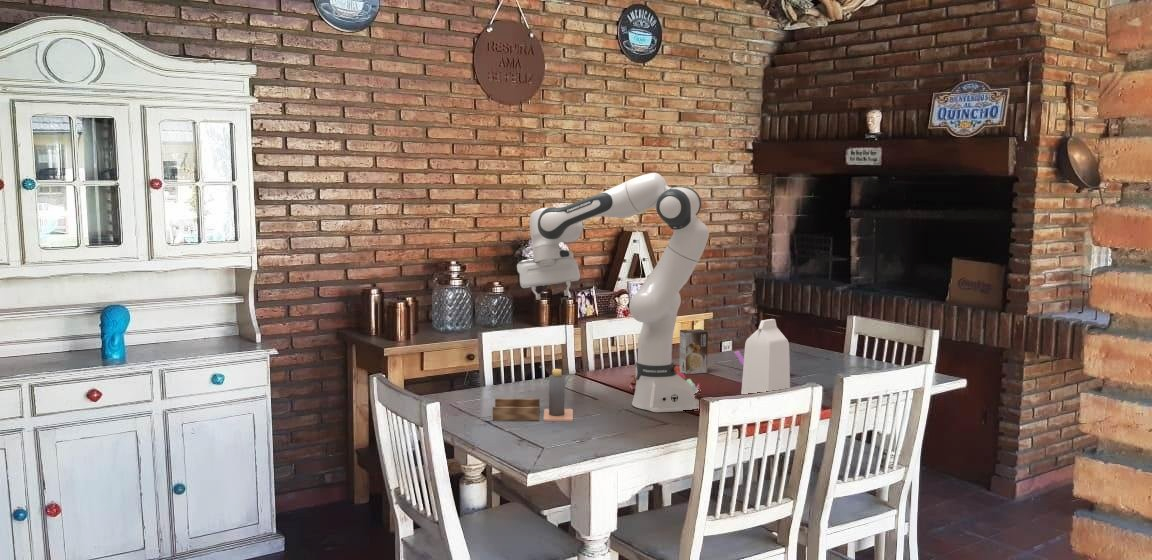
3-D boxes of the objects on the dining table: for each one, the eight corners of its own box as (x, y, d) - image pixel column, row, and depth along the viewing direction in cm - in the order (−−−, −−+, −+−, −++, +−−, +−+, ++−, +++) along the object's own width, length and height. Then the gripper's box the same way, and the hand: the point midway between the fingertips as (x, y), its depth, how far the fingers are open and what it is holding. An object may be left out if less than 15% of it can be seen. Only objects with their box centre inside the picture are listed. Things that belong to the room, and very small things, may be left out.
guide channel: (539, 411, 284) (539, 398, 284) (538, 420, 273) (538, 407, 273) (495, 410, 284) (495, 398, 284) (492, 420, 273) (492, 407, 273)
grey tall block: (564, 411, 281) (564, 368, 279) (564, 416, 276) (564, 371, 275) (549, 411, 281) (549, 368, 279) (548, 416, 276) (549, 371, 275)
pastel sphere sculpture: (619, 393, 310) (619, 367, 308) (646, 379, 330) (646, 355, 329) (687, 402, 298) (688, 375, 297) (710, 387, 319) (711, 362, 318)
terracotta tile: (572, 410, 285) (572, 409, 285) (573, 421, 273) (573, 419, 273) (544, 410, 285) (544, 408, 285) (543, 421, 273) (543, 419, 273)
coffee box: (700, 369, 347) (701, 328, 345) (707, 373, 341) (708, 331, 339) (678, 370, 344) (679, 329, 342) (685, 374, 338) (686, 332, 336)
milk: (767, 400, 300) (770, 324, 297) (741, 394, 309) (743, 319, 306) (790, 395, 307) (793, 320, 304) (763, 389, 316) (765, 316, 313)
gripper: (515, 259, 296) (521, 300, 293) (576, 250, 296) (582, 291, 294) (516, 262, 302) (522, 303, 300) (576, 254, 303) (582, 294, 300)
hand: (552, 297), depth 297 cm, fingers open, 8 cm apart
